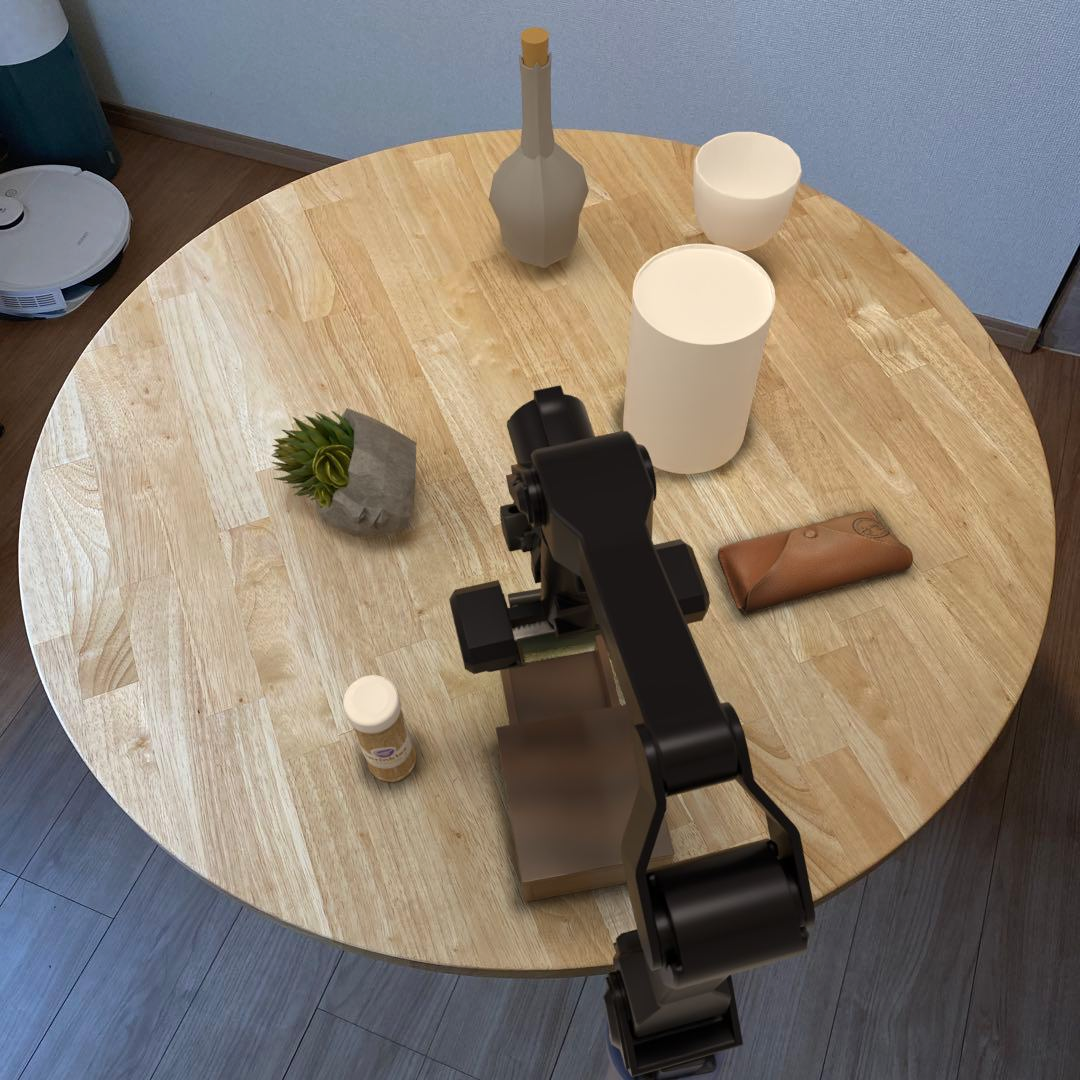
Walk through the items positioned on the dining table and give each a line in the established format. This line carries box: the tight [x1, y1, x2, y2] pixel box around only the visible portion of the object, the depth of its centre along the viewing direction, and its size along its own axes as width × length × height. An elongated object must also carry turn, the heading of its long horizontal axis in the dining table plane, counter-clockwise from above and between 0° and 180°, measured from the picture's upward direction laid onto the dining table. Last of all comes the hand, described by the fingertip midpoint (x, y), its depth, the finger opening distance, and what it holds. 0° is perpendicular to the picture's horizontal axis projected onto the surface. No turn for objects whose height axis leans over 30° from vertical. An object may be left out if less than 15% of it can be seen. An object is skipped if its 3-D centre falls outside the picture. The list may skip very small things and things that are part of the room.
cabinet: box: [495, 704, 675, 903], centre depth 91 cm, size 14×13×6 cm
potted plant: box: [270, 407, 417, 538], centre depth 107 cm, size 12×13×15 cm
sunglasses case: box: [717, 510, 914, 614], centre depth 105 cm, size 18×7×7 cm, turn 107°
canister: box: [622, 243, 776, 475], centre depth 108 cm, size 14×14×20 cm
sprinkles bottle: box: [342, 674, 417, 783], centre depth 91 cm, size 5×5×14 cm
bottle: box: [488, 26, 590, 269], centre depth 119 cm, size 11×11×30 cm
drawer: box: [498, 587, 621, 725], centre depth 97 cm, size 17×11×4 cm
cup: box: [692, 131, 803, 252], centre depth 122 cm, size 12×12×17 cm
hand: (576, 647), depth 85 cm, fingers open, 9 cm apart
